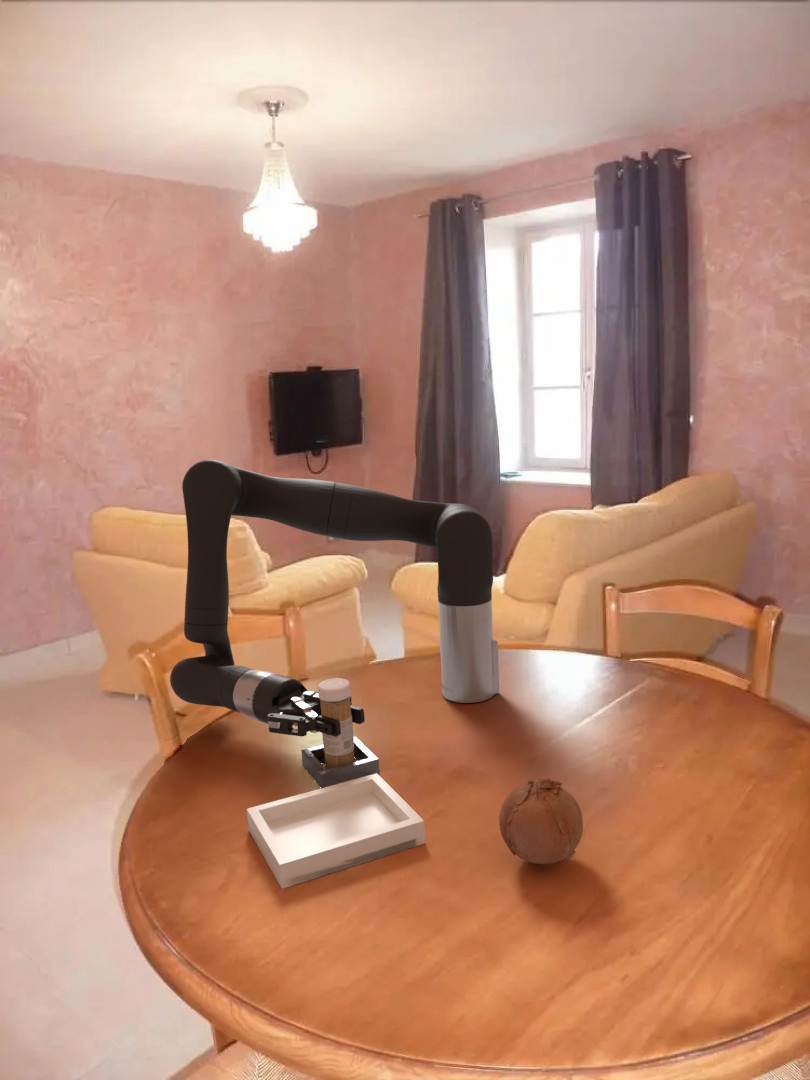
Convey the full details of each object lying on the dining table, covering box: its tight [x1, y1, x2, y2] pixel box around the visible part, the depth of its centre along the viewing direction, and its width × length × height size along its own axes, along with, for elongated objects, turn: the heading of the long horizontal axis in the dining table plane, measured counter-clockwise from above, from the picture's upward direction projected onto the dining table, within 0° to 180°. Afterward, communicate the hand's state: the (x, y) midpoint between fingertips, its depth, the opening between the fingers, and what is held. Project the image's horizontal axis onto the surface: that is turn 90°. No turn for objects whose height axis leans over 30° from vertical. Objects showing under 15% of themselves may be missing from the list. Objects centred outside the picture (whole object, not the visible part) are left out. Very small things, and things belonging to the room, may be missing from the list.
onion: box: [498, 778, 584, 866], centre depth 94 cm, size 10×9×10 cm
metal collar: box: [300, 736, 380, 789], centre depth 119 cm, size 9×9×2 cm
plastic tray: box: [246, 773, 426, 890], centre depth 102 cm, size 18×14×3 cm
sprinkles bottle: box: [317, 677, 356, 769], centre depth 118 cm, size 5×5×13 cm
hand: (350, 722), depth 116 cm, fingers closed on sprinkles bottle, 4 cm apart
